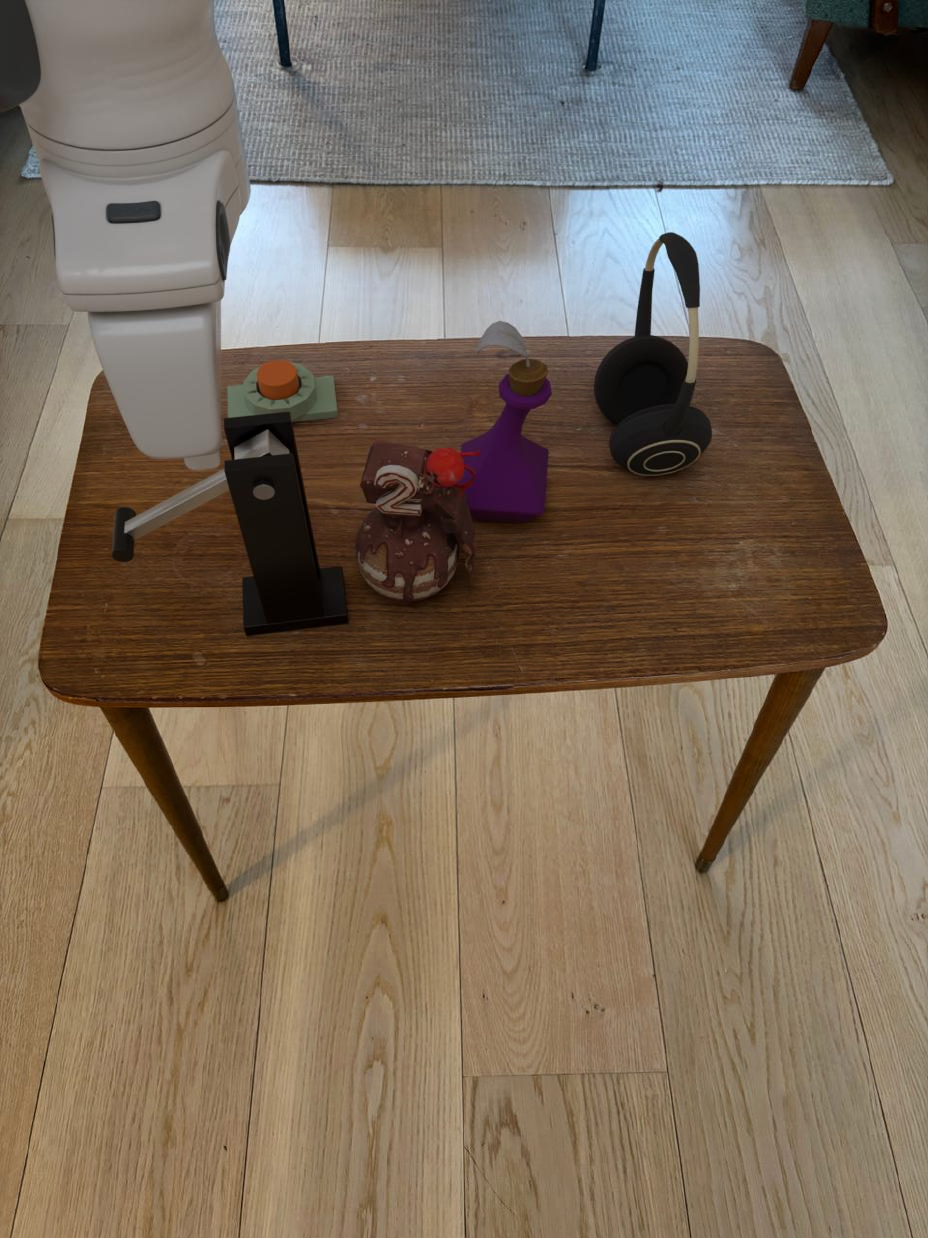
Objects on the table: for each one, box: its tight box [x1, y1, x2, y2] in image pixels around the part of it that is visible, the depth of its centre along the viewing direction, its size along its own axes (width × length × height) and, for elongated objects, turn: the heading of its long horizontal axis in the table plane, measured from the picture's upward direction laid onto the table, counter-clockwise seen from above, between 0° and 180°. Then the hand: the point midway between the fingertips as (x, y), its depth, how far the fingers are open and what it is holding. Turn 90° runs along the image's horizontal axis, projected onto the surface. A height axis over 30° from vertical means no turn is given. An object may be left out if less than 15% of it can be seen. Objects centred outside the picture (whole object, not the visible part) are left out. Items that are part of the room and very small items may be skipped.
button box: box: [226, 360, 339, 423], centre depth 91 cm, size 10×6×2 cm, turn 99°
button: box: [257, 359, 299, 400], centre depth 90 cm, size 4×4×2 cm
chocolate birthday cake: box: [355, 439, 481, 603], centre depth 74 cm, size 9×8×15 cm
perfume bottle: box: [455, 320, 553, 525], centre depth 78 cm, size 8×8×18 cm
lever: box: [111, 429, 290, 563], centre depth 67 cm, size 14×4×2 cm, turn 99°
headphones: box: [593, 231, 713, 477], centre depth 81 cm, size 9×15×20 cm, turn 6°
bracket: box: [223, 411, 349, 637], centre depth 71 cm, size 8×6×18 cm
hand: (205, 401), depth 55 cm, fingers open, 8 cm apart
